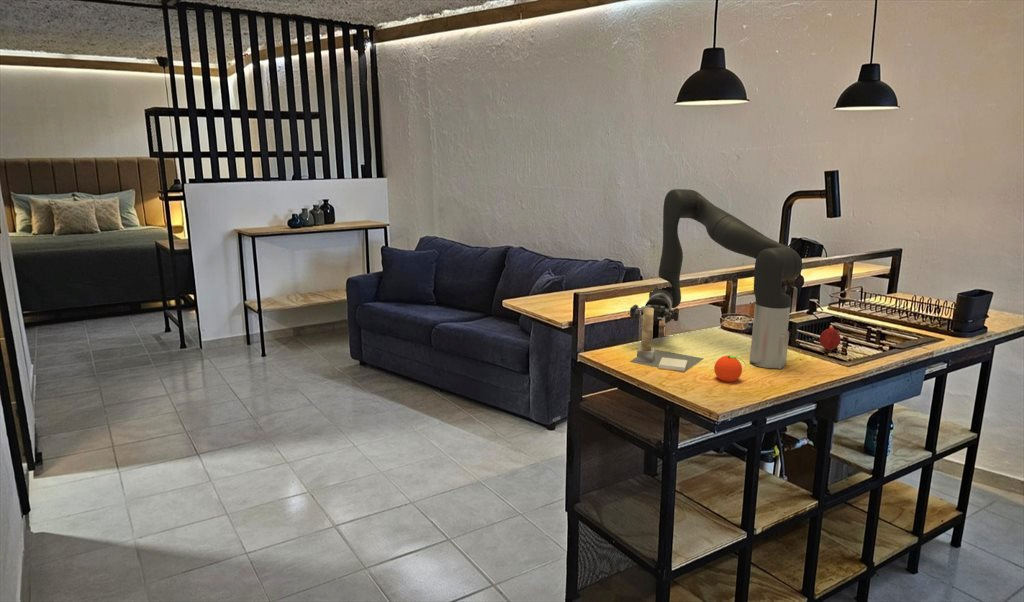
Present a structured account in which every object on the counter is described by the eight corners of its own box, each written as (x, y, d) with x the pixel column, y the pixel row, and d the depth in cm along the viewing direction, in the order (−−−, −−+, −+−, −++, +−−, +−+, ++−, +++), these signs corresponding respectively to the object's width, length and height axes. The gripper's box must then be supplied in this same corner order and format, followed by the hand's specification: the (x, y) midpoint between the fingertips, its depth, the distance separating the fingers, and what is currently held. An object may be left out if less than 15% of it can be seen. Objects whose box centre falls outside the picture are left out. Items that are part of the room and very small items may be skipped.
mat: (703, 360, 193) (703, 358, 193) (683, 374, 180) (683, 372, 180) (651, 350, 202) (651, 348, 201) (629, 363, 189) (629, 361, 189)
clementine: (740, 377, 179) (742, 352, 177) (748, 386, 172) (751, 360, 170) (710, 377, 179) (712, 351, 177) (717, 385, 172) (719, 359, 170)
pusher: (654, 358, 192) (657, 307, 189) (652, 362, 188) (655, 310, 185) (639, 356, 193) (642, 306, 190) (636, 360, 189) (639, 309, 186)
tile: (687, 360, 187) (685, 367, 180) (687, 364, 187) (684, 371, 181) (662, 357, 189) (658, 364, 183) (661, 361, 189) (658, 368, 183)
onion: (842, 354, 201) (845, 328, 199) (823, 353, 201) (826, 327, 200) (833, 348, 207) (837, 323, 205) (815, 348, 207) (818, 323, 205)
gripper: (636, 292, 211) (627, 303, 197) (682, 296, 207) (677, 308, 192) (635, 315, 213) (626, 328, 198) (681, 320, 209) (675, 333, 194)
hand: (651, 318), depth 195 cm, fingers open, 8 cm apart
